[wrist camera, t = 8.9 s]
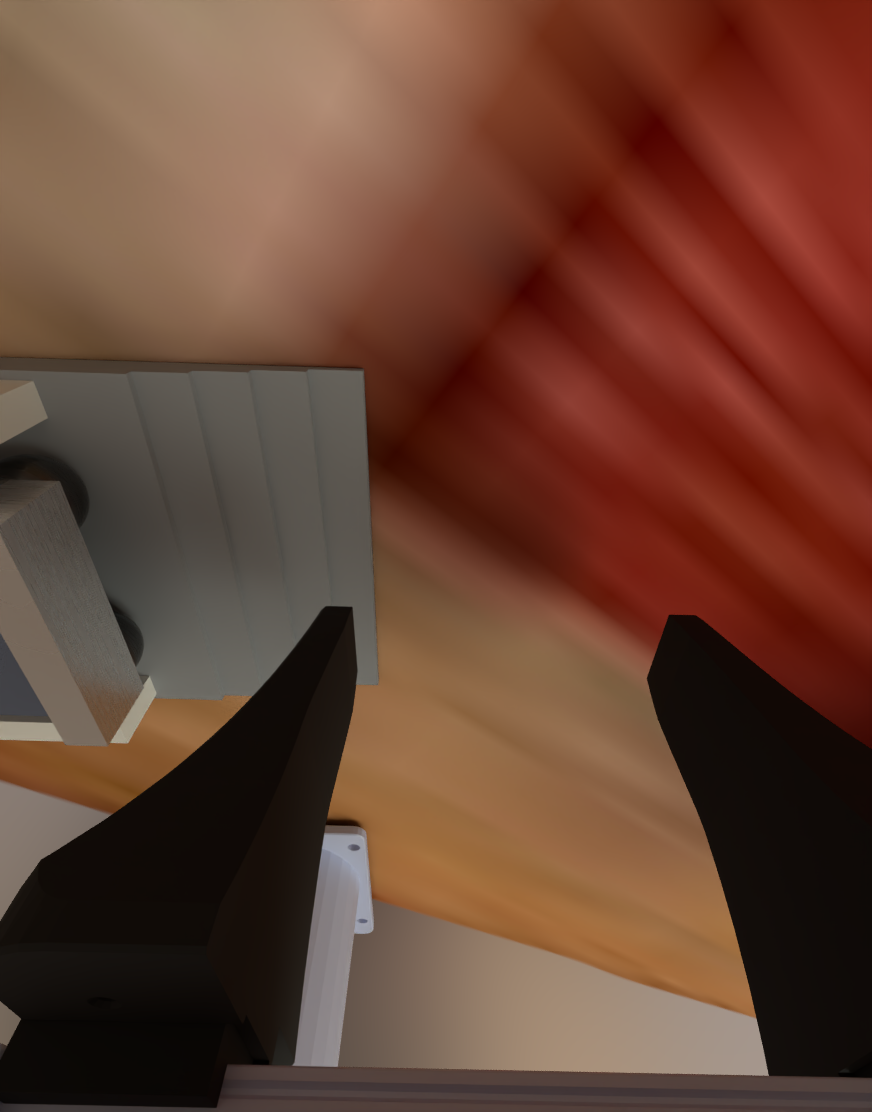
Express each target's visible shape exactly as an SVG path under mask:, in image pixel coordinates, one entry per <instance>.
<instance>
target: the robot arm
mask: <svg viewBox="0 0 872 1112" xmlns="http://www.w3.org/2000/svg"><path fill="white" fill-rule="evenodd" d="M357 673H358V668H357V656H356V644H355V631H354V619H353V607H348V606H325V607H324V608H323V609H322V610H321V611H320V612H319V614H318V615H317V617H316V618H315V620H314V621H313V623H312V624H311V625H310V627H309V628H308V630H307V631H306V632H305V634H304V635H303V636H302V638H301V639H300V640H299V642H298V643H297V644H296V646H295V647H294V648H293V650H292V651H291V652H290V653H289V655H288V656H287V657H286V658H285V659H284V661H283V662H282V663H281V664H280V666H279V667H278V668H277V669H276V671H275V672H274V673H273V674H272V675H271V676H270V678H269V679H268V680H267V681H266V682H265V683H264V684H263V685H262V686H261V687H260V689H259V690H258V691H257V692H256V693H255V694H254V695H253V696H252V697H251V699H250V700H249V701H248V702H247V703H246V704H245V705H244V706H243V707H242V708H241V709H240V710H239V711H238V712H237V713H236V714H235V715H234V716H233V717H232V718H231V719H230V720H229V721H228V722H227V723H226V724H225V725H224V726H223V727H222V728H220V729H219V730H218V731H217V732H216V733H215V734H214V735H213V736H212V737H211V738H210V739H209V740H207V741H206V742H205V743H204V744H203V745H202V746H200V747H199V748H198V749H197V750H196V751H195V752H194V753H192V754H191V755H190V756H189V757H188V758H187V759H185V760H184V761H183V762H182V763H181V764H179V765H178V766H177V767H176V768H174V769H173V770H172V771H171V772H169V773H168V774H167V775H166V776H164V777H163V778H162V779H160V780H159V781H158V782H156V783H155V784H154V785H152V786H151V787H150V788H148V789H147V790H145V791H144V792H143V793H141V794H140V795H139V796H137V797H136V798H135V799H133V800H132V801H131V802H129V803H128V804H127V805H125V806H124V807H122V808H121V809H120V810H118V811H117V812H115V813H114V814H112V815H111V816H109V817H108V818H107V819H105V820H104V821H102V822H101V823H99V824H97V825H96V826H94V827H93V828H91V829H89V830H88V831H86V832H85V833H83V834H82V835H80V836H78V837H77V838H75V839H74V840H72V841H71V842H69V843H67V844H66V845H64V846H63V847H61V848H60V849H58V850H57V851H55V852H53V853H52V854H50V855H48V856H47V857H45V858H43V859H42V860H41V861H40V862H39V863H38V865H37V866H36V868H35V869H34V871H33V872H32V873H31V875H30V876H29V877H28V879H27V880H26V881H25V883H24V884H23V886H22V887H21V889H20V890H19V892H18V893H17V895H16V896H15V898H14V900H13V901H12V903H11V904H10V906H9V908H8V910H7V911H6V913H5V914H4V916H3V918H2V919H1V921H0V1001H1V1002H2V1003H3V1004H4V1005H6V1006H7V1007H8V1008H9V1009H10V1010H12V1011H13V1012H14V1013H15V1014H16V1015H18V1016H19V1017H20V1018H21V1020H20V1022H19V1024H18V1026H17V1028H16V1030H15V1032H14V1034H13V1036H12V1038H11V1040H10V1042H9V1044H8V1045H7V1046H6V1045H4V1044H1V1043H0V1112H872V749H871V748H869V747H868V746H866V745H864V744H863V743H861V742H860V741H858V740H857V739H855V738H854V737H852V736H851V735H849V734H848V733H846V732H845V731H843V730H842V729H840V728H839V727H837V726H836V725H835V724H833V723H832V722H830V721H829V720H827V719H826V718H825V717H823V716H822V715H821V714H819V713H818V712H817V711H815V710H814V709H813V708H811V707H810V706H808V705H807V704H806V703H804V702H803V701H802V700H800V699H799V698H798V697H796V696H795V695H794V694H793V693H791V692H790V691H789V690H787V689H786V688H785V687H783V686H782V685H781V684H780V683H778V682H777V681H776V680H775V679H773V678H772V677H771V676H770V675H768V674H767V673H766V672H765V671H764V670H762V669H761V668H760V667H759V666H757V665H756V664H755V663H754V662H753V661H751V660H750V659H749V658H748V657H746V656H745V655H744V654H743V653H742V652H740V651H739V650H738V649H737V648H736V647H735V646H733V645H732V644H731V643H730V642H729V641H727V640H726V639H725V638H724V637H723V636H721V635H720V634H719V633H718V632H716V631H715V630H714V629H713V628H712V627H710V626H709V625H708V624H707V623H705V622H704V621H703V620H701V619H700V618H699V617H697V616H696V615H669V617H668V619H667V622H666V625H665V628H664V631H663V634H662V637H661V639H660V642H659V645H658V648H657V651H656V654H655V657H654V659H653V662H652V665H651V668H650V671H649V674H648V677H647V681H648V685H649V689H650V692H651V696H652V700H653V704H654V707H655V711H656V714H657V717H658V720H659V723H660V725H661V728H662V730H663V733H664V735H665V737H666V740H667V742H668V745H669V747H670V749H671V752H672V754H673V756H674V759H675V761H676V763H677V766H678V768H679V770H680V773H681V775H682V777H683V780H684V782H685V784H686V787H687V789H688V791H689V793H690V796H691V798H692V800H693V803H694V805H695V807H696V810H697V812H698V815H699V817H700V820H701V823H702V825H703V828H704V830H705V833H706V836H707V839H708V842H709V845H710V849H711V852H712V855H713V858H714V861H715V864H716V868H717V871H718V874H719V877H720V880H721V884H722V887H723V891H724V894H725V898H726V901H727V905H728V908H729V911H730V915H731V918H732V922H733V925H734V929H735V933H736V937H737V940H738V944H739V948H740V952H741V956H742V960H743V964H744V968H745V971H746V975H747V979H748V983H749V987H750V991H751V996H752V1000H753V1005H754V1009H755V1014H756V1018H757V1022H758V1026H759V1031H760V1035H761V1040H762V1044H763V1049H764V1054H765V1059H766V1064H767V1069H768V1074H769V1076H752V1075H751V1076H750V1075H705V1074H655V1073H608V1072H562V1071H561V1072H560V1071H513V1070H467V1069H417V1068H372V1067H338V1059H339V1050H340V1043H341V1035H342V1027H343V1018H344V1011H345V1002H346V994H347V986H348V978H349V969H350V962H351V954H352V945H353V938H354V933H359V934H364V933H370V932H371V931H373V926H374V918H373V906H372V895H371V883H370V872H369V860H368V849H367V837H366V832H365V830H364V829H362V828H360V827H357V826H335V825H326V821H327V816H328V811H329V806H330V802H331V798H332V794H333V790H334V785H335V781H336V777H337V773H338V769H339V765H340V761H341V757H342V753H343V749H344V745H345V741H346V737H347V733H348V729H349V725H350V720H351V716H352V712H353V705H354V697H355V689H356V681H357Z"/></svg>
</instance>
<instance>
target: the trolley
mask: <svg viewBox="0 0 872 1112" xmlns="http://www.w3.org/2000/svg"><path fill="white" fill-rule="evenodd" d="M89 501H90V500H89V494H88V491H87V488H86V486H85V484H84V482H83V481H82V479H81V478H80V477H79V476H78V474H77V473H76V472H75V471H74V470H72V469H71V468H70V467H69V466H67V465H65V464H64V463H62V462H60V461H58V460H56V459H53V458H50V457H47V456H43V455H37V454H19V455H13V456H9V457H6V458H3V459H1V460H0V715H18V716H49V718H50V719H51V721H52V723H53V725H54V726H55V728H56V730H57V731H58V733H59V735H60V737H61V738H62V740H63V742H64V743H65V745H81V746H109V744H110V742H111V741H112V739H113V737H114V736H115V734H116V733H117V731H118V729H119V728H120V726H121V724H122V723H123V721H124V720H125V718H126V716H127V715H128V713H129V711H130V710H131V708H132V707H133V705H134V703H135V702H136V700H137V698H138V697H139V695H140V694H141V692H142V690H143V689H144V686H143V684H142V681H141V679H140V676H139V674H138V672H137V669H136V667H137V665H138V664H139V662H140V660H141V658H142V655H143V650H144V639H143V636H142V633H141V631H140V629H139V627H138V626H137V625H136V623H135V622H134V621H133V620H131V619H130V618H129V617H127V616H125V615H123V614H121V613H118V612H115V611H113V610H112V608H111V605H110V603H109V601H108V598H107V596H106V593H105V591H104V588H103V586H102V583H101V581H100V579H99V576H98V574H97V571H96V569H95V566H94V564H93V561H92V559H91V557H90V554H89V552H88V549H87V547H86V544H85V542H84V539H83V537H82V535H81V532H80V530H79V528H80V527H81V526H82V525H83V523H84V522H85V520H86V518H87V515H88V512H89Z"/></svg>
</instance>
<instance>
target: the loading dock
mask: <svg viewBox="0 0 872 1112" xmlns="http://www.w3.org/2000/svg"><path fill="white" fill-rule="evenodd" d="M19 454H37V455H43V456H47V457H50V458H53V459H56V460H58V461H60V462H62V463H64V464H65V465H67V466H69V467H70V468H71V469H72V470H74V471H75V472H76V473H77V474H78V476H79V477H80V478H81V479H82V481H83V482H84V484H85V486H86V488H87V491H88V494H89V500H90V501H89V512H88V515H87V518H86V520H85V522H84V523H83V525H82V526H81V527H80V528H79V530H80V532H81V535H82V537H83V539H84V542H85V544H86V547H87V549H88V552H89V554H90V557H91V559H92V561H93V564H94V566H95V569H96V571H97V574H98V576H99V579H100V581H101V583H102V586H103V588H104V591H105V593H106V596H107V598H108V601H109V603H110V605H111V608H112V610H113V611H115V612H118V613H121V614H123V615H125V616H127V617H129V618H130V619H131V620H133V621H134V622H135V623H136V625H137V626H138V627H139V629H140V631H141V633H142V636H143V639H144V650H143V655H142V658H141V660H140V662H139V664H138V665H137V667H136V669H137V672H138V674H139V676H140V679H141V681H142V684H143V686H144V689H143V690H142V692H141V694H140V695H139V697H138V698H137V700H136V702H135V703H134V705H133V707H132V708H131V710H130V711H129V713H128V715H127V716H126V718H125V720H124V721H123V723H122V724H121V726H120V728H119V729H118V731H117V733H116V734H115V736H114V737H113V739H112V741H111V742H110V743H128V742H129V740H130V738H131V737H132V735H133V733H134V732H135V730H136V728H137V726H138V725H139V723H140V721H141V720H142V718H143V716H144V714H145V713H146V711H147V709H148V708H149V706H150V704H151V702H152V701H153V699H154V698H168V699H203V700H222V699H223V697H224V695H239V696H253V695H254V694H255V693H256V692H257V691H258V690H259V689H260V687H261V686H262V685H263V684H264V683H265V682H266V681H267V680H268V679H269V678H270V676H271V675H272V674H273V673H274V672H275V671H276V669H277V668H278V667H279V666H280V664H281V663H282V662H283V661H284V659H285V658H286V657H287V656H288V655H289V653H290V652H291V651H292V650H293V648H294V647H295V646H296V644H297V643H298V642H299V640H300V639H301V638H302V636H303V635H304V634H305V632H306V631H307V630H308V628H309V627H310V625H311V624H312V623H313V621H314V620H315V618H316V617H317V615H318V614H319V612H320V611H321V610H322V609H323V608H324V607H325V606H348V607H353V619H354V631H355V644H356V656H357V668H358V673H357V681H356V684H359V685H378V682H379V676H378V655H377V634H376V613H375V592H374V571H373V550H372V529H371V508H370V487H369V466H368V445H367V424H366V403H365V382H364V369H360V368H328V367H297V366H265V365H234V364H202V363H171V362H140V361H108V360H77V359H45V358H14V357H0V460H1V459H3V458H6V457H9V456H13V455H19ZM0 740H32V741H63V740H62V738H61V737H60V735H59V733H58V731H57V730H56V728H55V726H54V725H53V723H52V721H51V719H50V718H49V716H18V715H0Z"/></svg>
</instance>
